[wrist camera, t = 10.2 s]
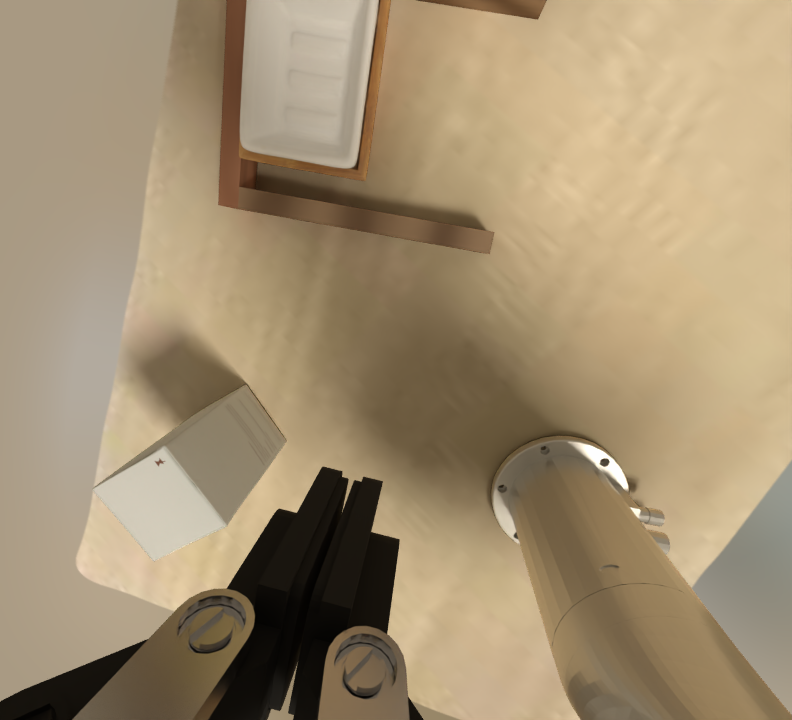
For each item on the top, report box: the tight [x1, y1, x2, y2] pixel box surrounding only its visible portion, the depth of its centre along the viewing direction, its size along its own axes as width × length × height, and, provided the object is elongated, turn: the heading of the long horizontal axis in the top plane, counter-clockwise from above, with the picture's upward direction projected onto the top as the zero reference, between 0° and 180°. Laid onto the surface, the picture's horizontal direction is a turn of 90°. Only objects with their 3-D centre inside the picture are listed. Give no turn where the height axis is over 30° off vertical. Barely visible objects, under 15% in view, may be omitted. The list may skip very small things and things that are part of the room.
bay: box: [218, 0, 547, 254], centre depth 25 cm, size 25×23×11 cm
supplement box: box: [93, 385, 286, 561], centre depth 34 cm, size 7×7×13 cm
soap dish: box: [239, 0, 391, 181], centre depth 29 cm, size 12×10×5 cm
